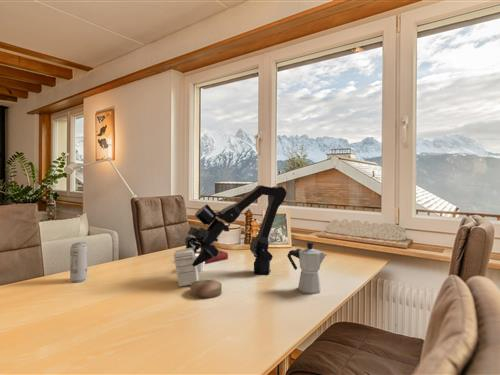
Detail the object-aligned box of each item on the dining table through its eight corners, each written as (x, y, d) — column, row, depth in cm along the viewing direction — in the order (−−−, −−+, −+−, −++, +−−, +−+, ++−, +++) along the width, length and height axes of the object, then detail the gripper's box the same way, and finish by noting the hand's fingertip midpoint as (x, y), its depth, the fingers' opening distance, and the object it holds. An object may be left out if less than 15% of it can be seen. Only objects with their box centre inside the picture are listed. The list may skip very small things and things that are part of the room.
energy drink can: (89, 280, 125) (89, 243, 125) (73, 283, 121) (73, 245, 120) (84, 277, 129) (84, 241, 129) (67, 280, 125) (68, 242, 124)
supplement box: (180, 280, 126) (175, 249, 126) (199, 277, 127) (194, 246, 126) (178, 287, 119) (173, 254, 118) (197, 283, 119) (192, 251, 119)
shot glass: (202, 272, 137) (202, 257, 137) (187, 271, 139) (187, 256, 138) (207, 268, 144) (207, 253, 144) (193, 267, 145) (193, 252, 145)
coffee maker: (327, 288, 119) (328, 241, 119) (325, 296, 111) (326, 245, 111) (289, 283, 124) (289, 238, 124) (284, 290, 116) (285, 242, 116)
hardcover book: (228, 260, 162) (228, 252, 162) (194, 267, 147) (194, 258, 147) (213, 255, 170) (214, 248, 170) (180, 262, 156) (180, 254, 155)
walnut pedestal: (225, 289, 117) (225, 281, 117) (215, 300, 106) (215, 291, 106) (197, 286, 119) (197, 278, 119) (185, 296, 109) (185, 288, 109)
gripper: (189, 217, 133) (164, 245, 126) (212, 222, 118) (185, 255, 111) (205, 234, 138) (181, 262, 131) (229, 241, 123) (204, 273, 116)
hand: (187, 263), depth 122 cm, fingers open, 9 cm apart
